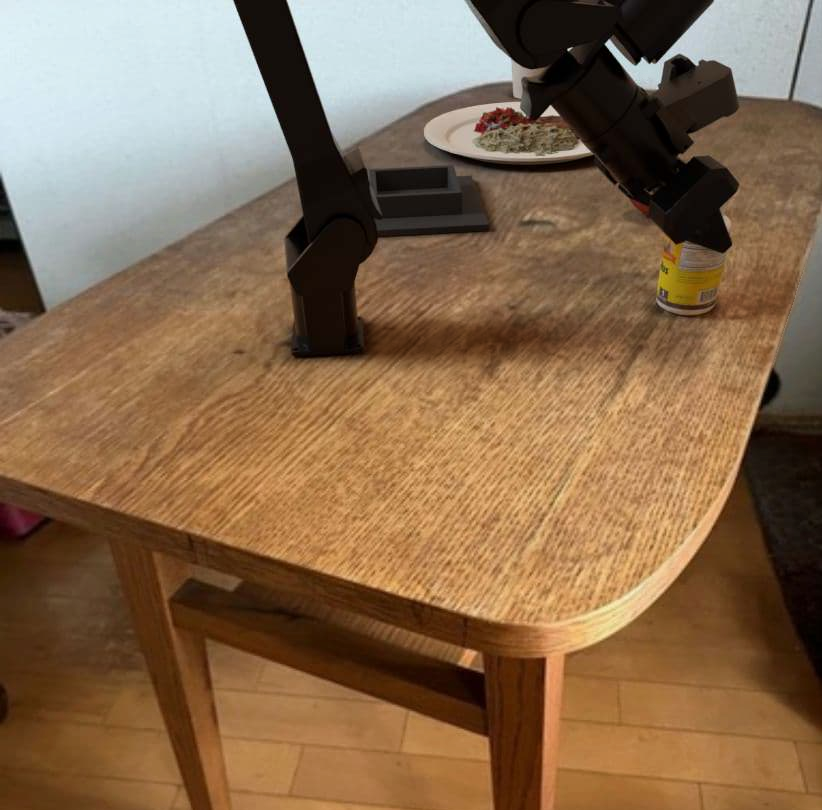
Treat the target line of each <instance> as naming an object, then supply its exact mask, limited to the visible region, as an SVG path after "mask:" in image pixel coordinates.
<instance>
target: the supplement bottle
mask: <svg viewBox="0 0 822 810" xmlns="http://www.w3.org/2000/svg"><path fill="white" fill-rule="evenodd" d="M727 204H728V201H727V202H726V203H725V204H724V205H723V206H722V207H721V208H720V211H721V214H722V217H723V219H724V222H725V225H726V227H727V230H728V233H729V236H730V237H731V231H732V226H733V225H732V221H731V219H730V217H728V216H727V215H726V211H727ZM727 251H728V250H727ZM727 251H726V252H725V253H719V252H716V251H714V250H711V249H708V248H705V247H702V246H699V245H696V244H693V243H690V242H687V241H685V242H683V243H680V244H677V245H676V244H675V243H674V242H672V241H671V240H670V239H669V238H668V237H667V236H666V235H665V234H664V243H663V248H662V254H661V262H660V269H659V275H658V282H657V288H656V295H655V296H656V297H655V299H656V303H657V305H659V307H660V308H661V309H663V310H664V311H667V312H668V313H671V314H676V315H679V316H697V315H703V314H705V313H708V312H709V311H711V310H712V309H713V308H714V307H715V305H716V304H717V300H718V295H719V291H720V290H719V289H720V285H721V280H722V276H723V271H724V266H725V261H726V256H727Z"/></svg>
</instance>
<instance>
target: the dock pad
mask: <svg viewBox="0 0 822 810" xmlns="http://www.w3.org/2000/svg"><path fill="white" fill-rule="evenodd" d="M368 178H369V185H370V187H371V188H372V189H373V191H374V193H375V196H376V199H377V202H378V205H379V208H380V210H381V213H382V216H383V218H382V219H381V220H378V219H375V222H376V226H377V232H378V238H382V237H398V236H399V237H401V236H416V235H417V236H418V235H419V236H421V235H435V234H439V235H440V234H455V233H456V234H457V233H474V232H475V233H477V232H489V229H490V223H489V221H488V218H487V215H486V212H485V210H484V207H483V204H482V202H481V199H480V196H479V193H478V191H477V188H476V184H475V182H474V179H473V177H472V175H471V174H470V175H457V173H456V169H455V166H454V164H443V165H426V166H424V165H423V166H407V167H403V166H402V167H388V168H386V167H385V168H368Z"/></svg>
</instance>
